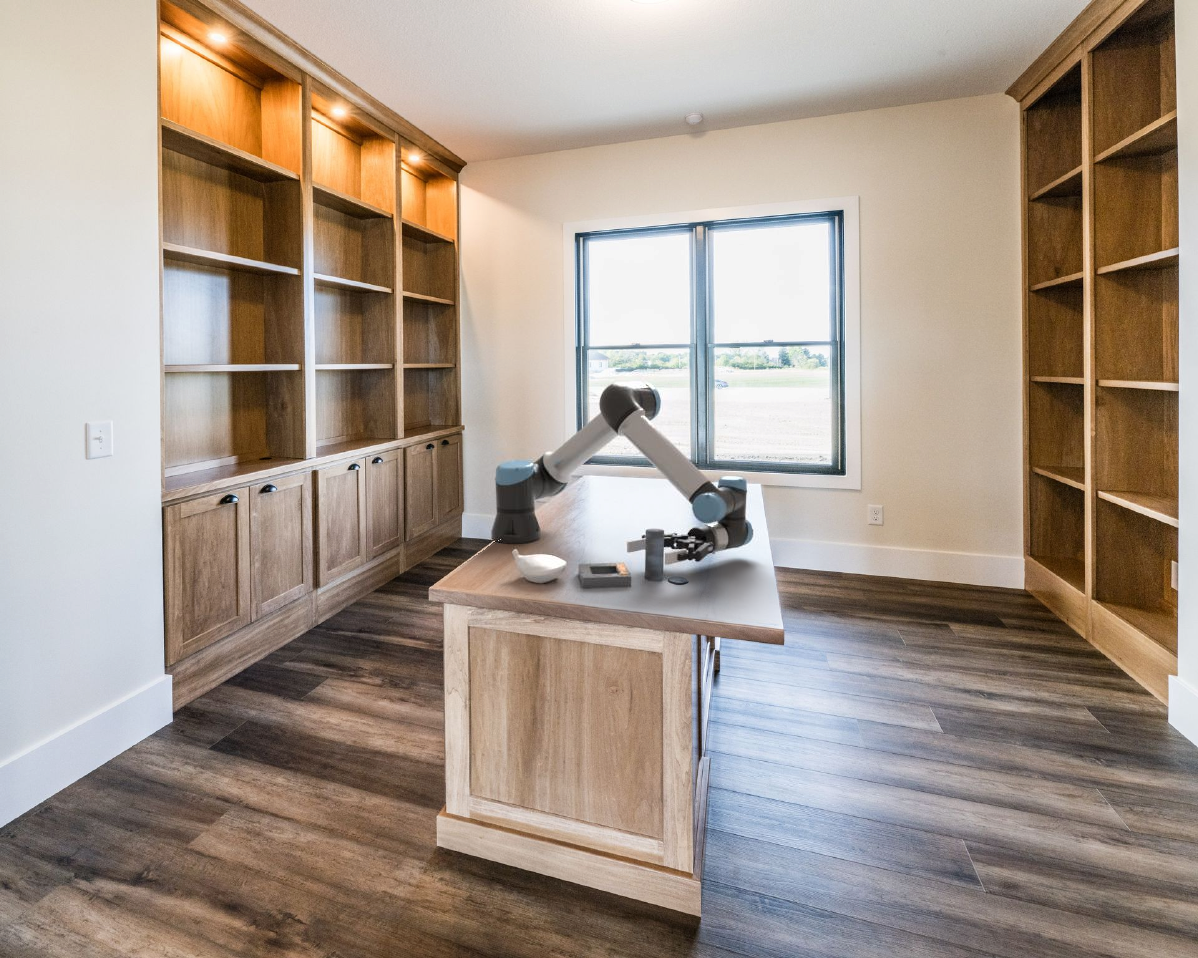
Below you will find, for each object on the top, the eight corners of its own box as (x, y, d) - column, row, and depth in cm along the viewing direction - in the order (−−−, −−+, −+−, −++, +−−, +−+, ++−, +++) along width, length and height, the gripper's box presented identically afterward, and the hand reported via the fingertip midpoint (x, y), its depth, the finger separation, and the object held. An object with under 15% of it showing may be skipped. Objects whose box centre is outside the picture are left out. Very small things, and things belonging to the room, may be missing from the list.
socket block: (582, 588, 151) (582, 577, 151) (578, 573, 163) (578, 563, 162) (631, 586, 153) (631, 575, 152) (623, 572, 164) (623, 561, 164)
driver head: (522, 540, 164) (555, 528, 156) (543, 575, 166) (577, 565, 158) (498, 562, 156) (531, 551, 148) (520, 598, 158) (554, 589, 150)
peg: (641, 577, 160) (641, 530, 158) (654, 574, 162) (655, 527, 161) (653, 582, 156) (654, 533, 154) (667, 578, 159) (668, 531, 157)
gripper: (743, 564, 160) (682, 580, 147) (672, 543, 180) (613, 556, 167) (744, 534, 159) (683, 548, 146) (673, 517, 179) (613, 528, 166)
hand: (646, 552), depth 156 cm, fingers open, 13 cm apart
